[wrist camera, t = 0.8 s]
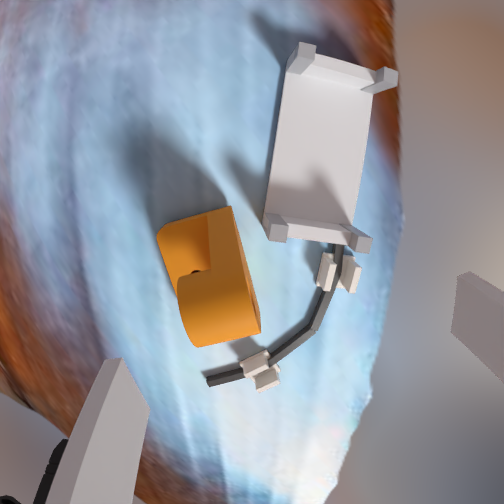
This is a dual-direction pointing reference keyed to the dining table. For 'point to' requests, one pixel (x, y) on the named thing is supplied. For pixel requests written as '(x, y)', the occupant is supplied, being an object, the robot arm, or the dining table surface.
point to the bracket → (210, 277)
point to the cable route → (265, 364)
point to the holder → (321, 149)
